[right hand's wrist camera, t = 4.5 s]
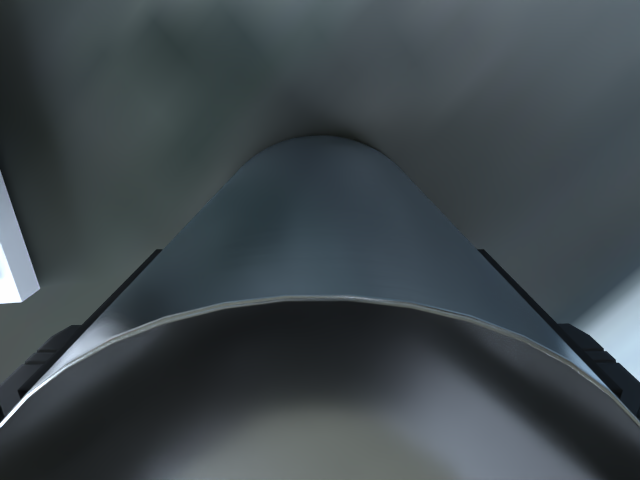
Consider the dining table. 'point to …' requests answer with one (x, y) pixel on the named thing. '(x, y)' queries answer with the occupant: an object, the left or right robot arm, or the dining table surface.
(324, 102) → the dining table surface
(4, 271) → the relief map
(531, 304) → the right robot arm
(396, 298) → the tin
